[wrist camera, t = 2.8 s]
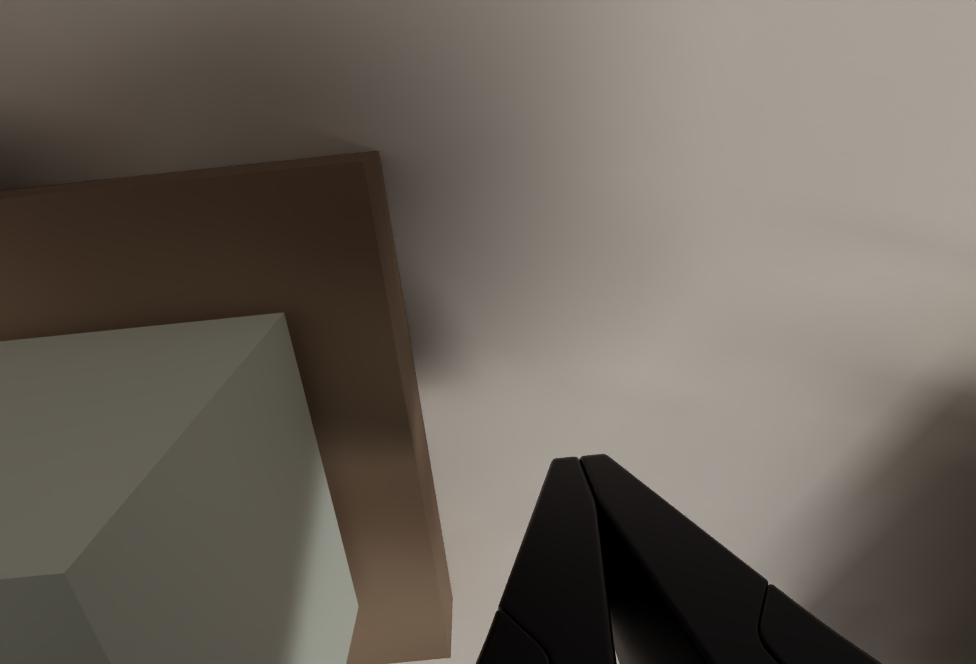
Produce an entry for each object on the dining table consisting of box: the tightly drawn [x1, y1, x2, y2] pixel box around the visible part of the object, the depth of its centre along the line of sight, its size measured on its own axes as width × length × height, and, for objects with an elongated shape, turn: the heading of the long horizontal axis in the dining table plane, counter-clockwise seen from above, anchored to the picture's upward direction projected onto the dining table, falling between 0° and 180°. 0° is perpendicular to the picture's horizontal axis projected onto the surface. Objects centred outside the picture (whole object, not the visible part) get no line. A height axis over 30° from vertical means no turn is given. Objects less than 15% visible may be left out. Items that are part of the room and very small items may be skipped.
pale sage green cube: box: [0, 312, 359, 664], centre depth 7 cm, size 6×5×5 cm
